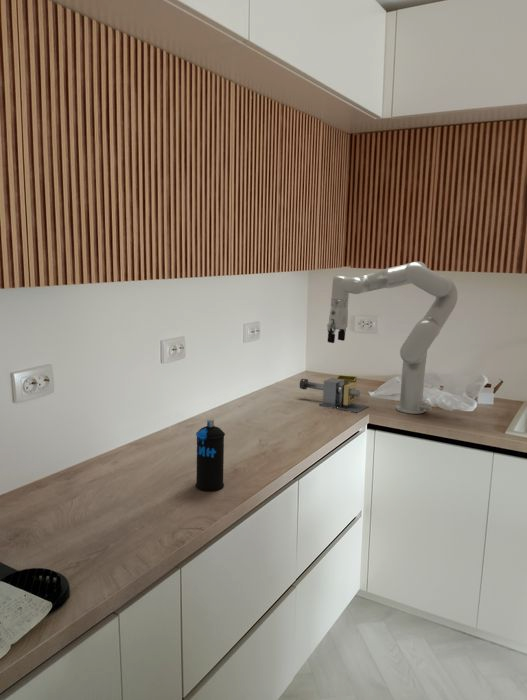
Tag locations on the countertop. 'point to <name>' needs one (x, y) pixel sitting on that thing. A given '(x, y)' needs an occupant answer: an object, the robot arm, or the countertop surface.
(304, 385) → the shaft
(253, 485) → the countertop surface
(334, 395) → the block
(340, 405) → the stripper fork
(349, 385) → the gold bearing plate
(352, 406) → the mat
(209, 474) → the aerosol can
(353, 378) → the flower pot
